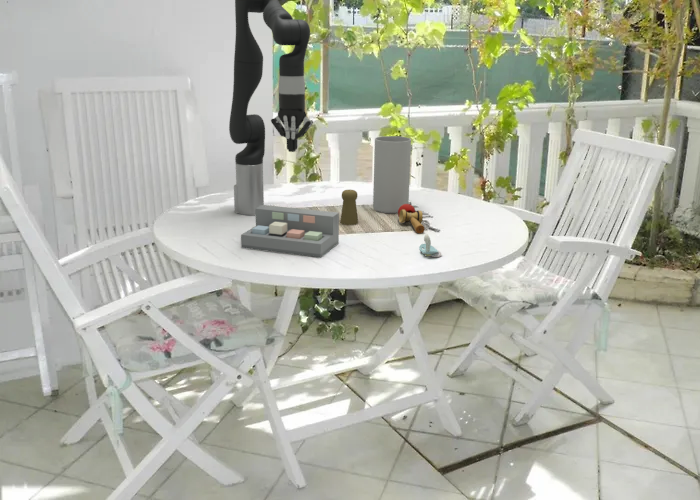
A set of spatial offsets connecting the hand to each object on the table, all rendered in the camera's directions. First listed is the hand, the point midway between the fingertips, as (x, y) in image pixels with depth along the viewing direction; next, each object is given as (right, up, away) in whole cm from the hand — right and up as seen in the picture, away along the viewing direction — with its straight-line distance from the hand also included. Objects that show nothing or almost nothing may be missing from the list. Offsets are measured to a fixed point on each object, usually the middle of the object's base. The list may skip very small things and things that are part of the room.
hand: (292, 151), depth 223 cm
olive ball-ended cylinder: (+17, -20, +27) cm, 38 cm away
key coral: (+1, -27, -2) cm, 27 cm away
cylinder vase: (+31, -15, +44) cm, 56 cm away
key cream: (-4, -25, -1) cm, 25 cm away
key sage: (+6, -28, -3) cm, 29 cm away
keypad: (-1, -28, +2) cm, 28 cm away
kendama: (+37, -22, +24) cm, 50 cm away
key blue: (-9, -26, +2) cm, 28 cm away
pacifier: (+40, -31, -4) cm, 51 cm away
